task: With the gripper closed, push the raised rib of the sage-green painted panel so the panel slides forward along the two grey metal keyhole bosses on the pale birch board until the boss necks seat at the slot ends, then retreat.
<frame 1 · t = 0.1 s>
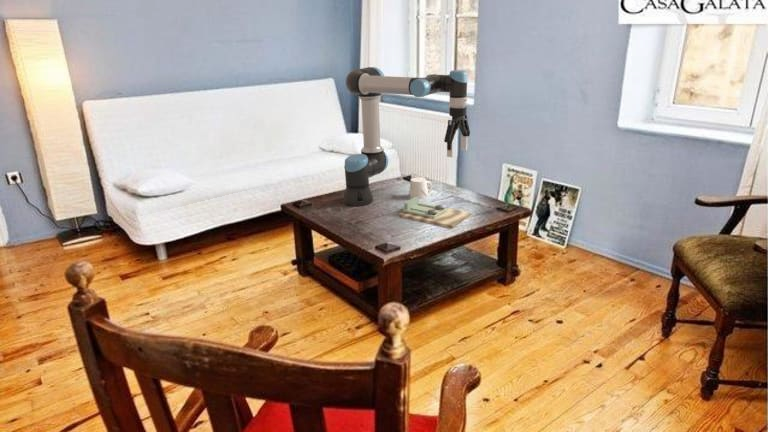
hand: (457, 153, 230), 28 cm above the table, fingers open, 13 cm apart
mug: (420, 196, 261), on the table
panel: (425, 206, 236), point 4 cm above the table, slide at 0.0 cm
board: (435, 215, 235), on the table
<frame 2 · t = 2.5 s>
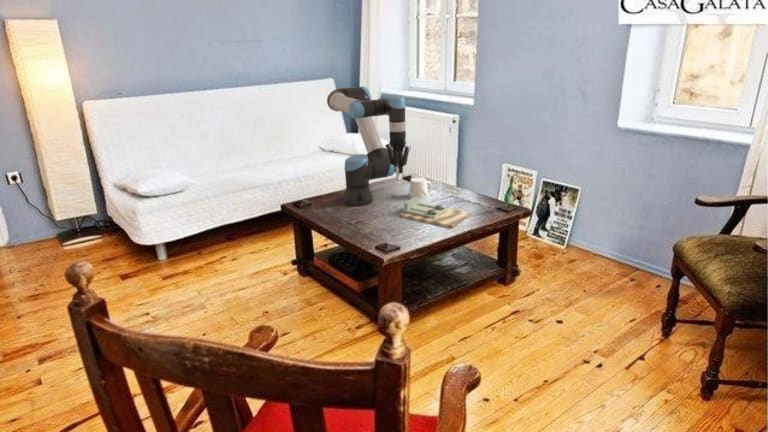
hand: (398, 179, 240), 15 cm above the table, fingers closed
nothing on the table moved.
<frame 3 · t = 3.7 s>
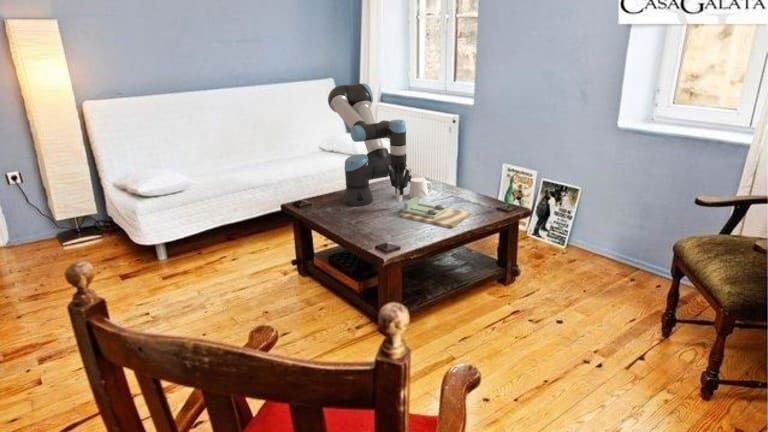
hand: (399, 200, 244), 4 cm above the table, fingers closed
nothing on the table moved.
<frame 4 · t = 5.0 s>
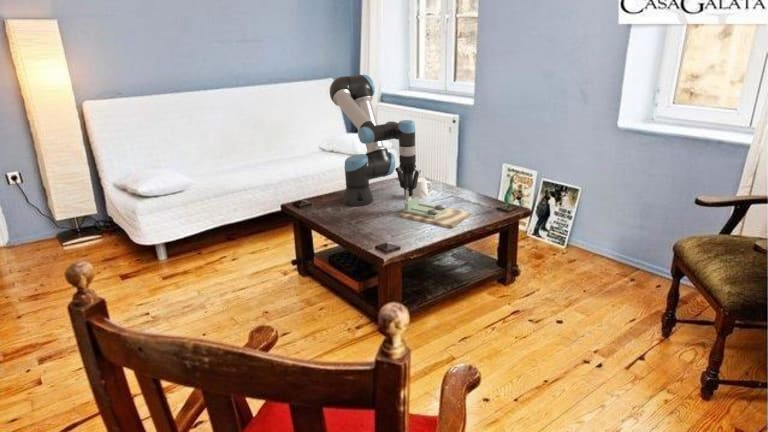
hand: (408, 202, 241), 4 cm above the table, fingers closed
panel: (425, 206, 236), point 4 cm above the table, slide at 0.3 cm, touching gripper
everything else where it was.
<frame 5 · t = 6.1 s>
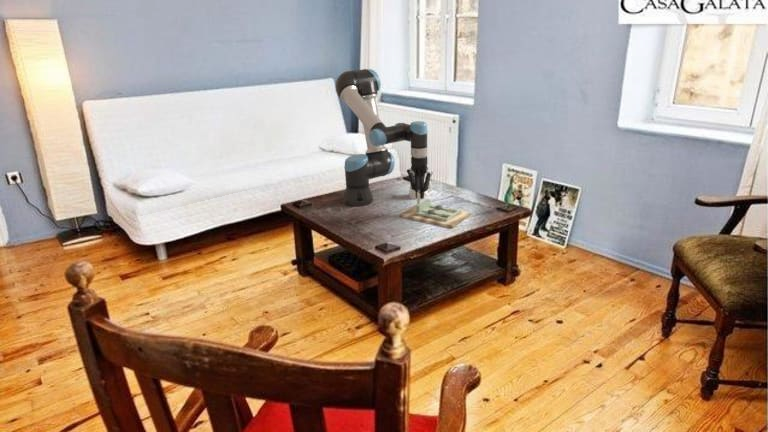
hand: (419, 204, 237), 4 cm above the table, fingers closed
panel: (437, 209, 233), point 4 cm above the table, slide at 6.6 cm, touching gripper
everything else where it was.
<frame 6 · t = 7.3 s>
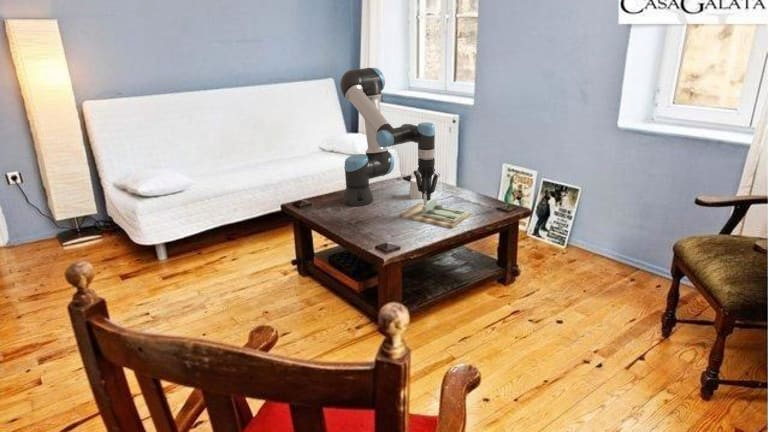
hand: (426, 206, 236), 4 cm above the table, fingers closed
panel: (443, 210, 231), point 4 cm above the table, slide at 10.0 cm, touching gripper
everything else where it was.
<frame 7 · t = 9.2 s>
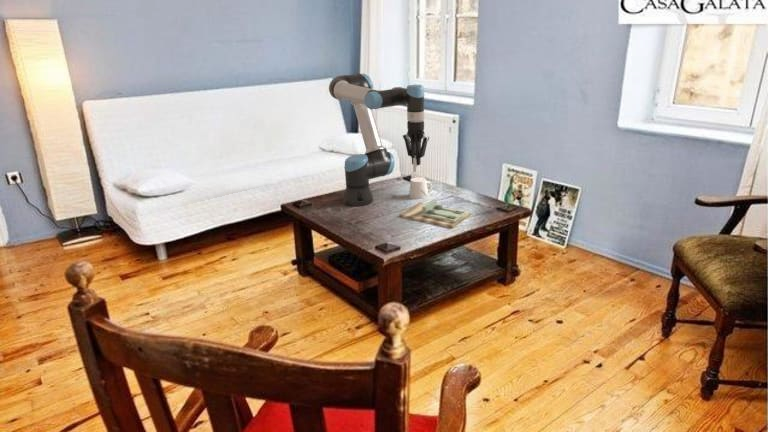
hand: (416, 171, 233), 20 cm above the table, fingers closed
panel: (443, 210, 231), point 4 cm above the table, slide at 10.0 cm
everything else where it was.
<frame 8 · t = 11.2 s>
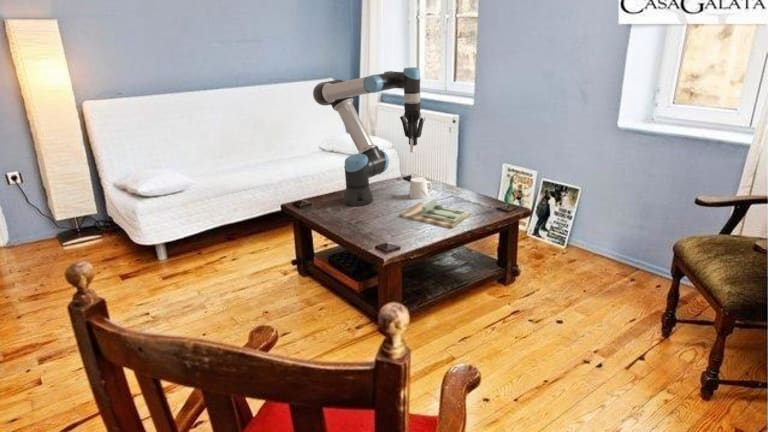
hand: (413, 151, 242), 26 cm above the table, fingers closed
nothing on the table moved.
at the end: panel slide at 10.0 cm; panel 0.5 cm from the target spot, resting on board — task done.
